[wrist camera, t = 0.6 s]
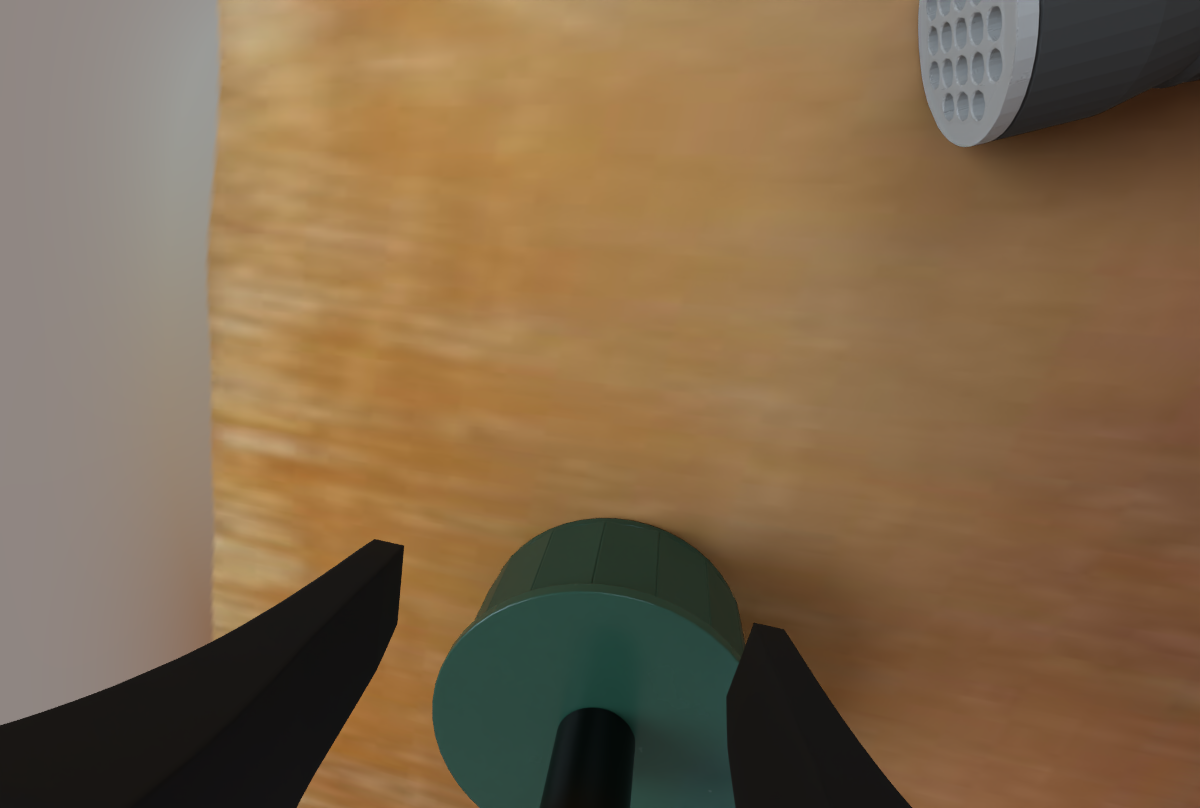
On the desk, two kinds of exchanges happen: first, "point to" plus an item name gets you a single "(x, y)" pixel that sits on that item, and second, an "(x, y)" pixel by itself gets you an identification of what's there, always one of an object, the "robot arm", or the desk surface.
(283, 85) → the desk surface
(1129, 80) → the flashlight
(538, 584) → the pot
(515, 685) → the lid
